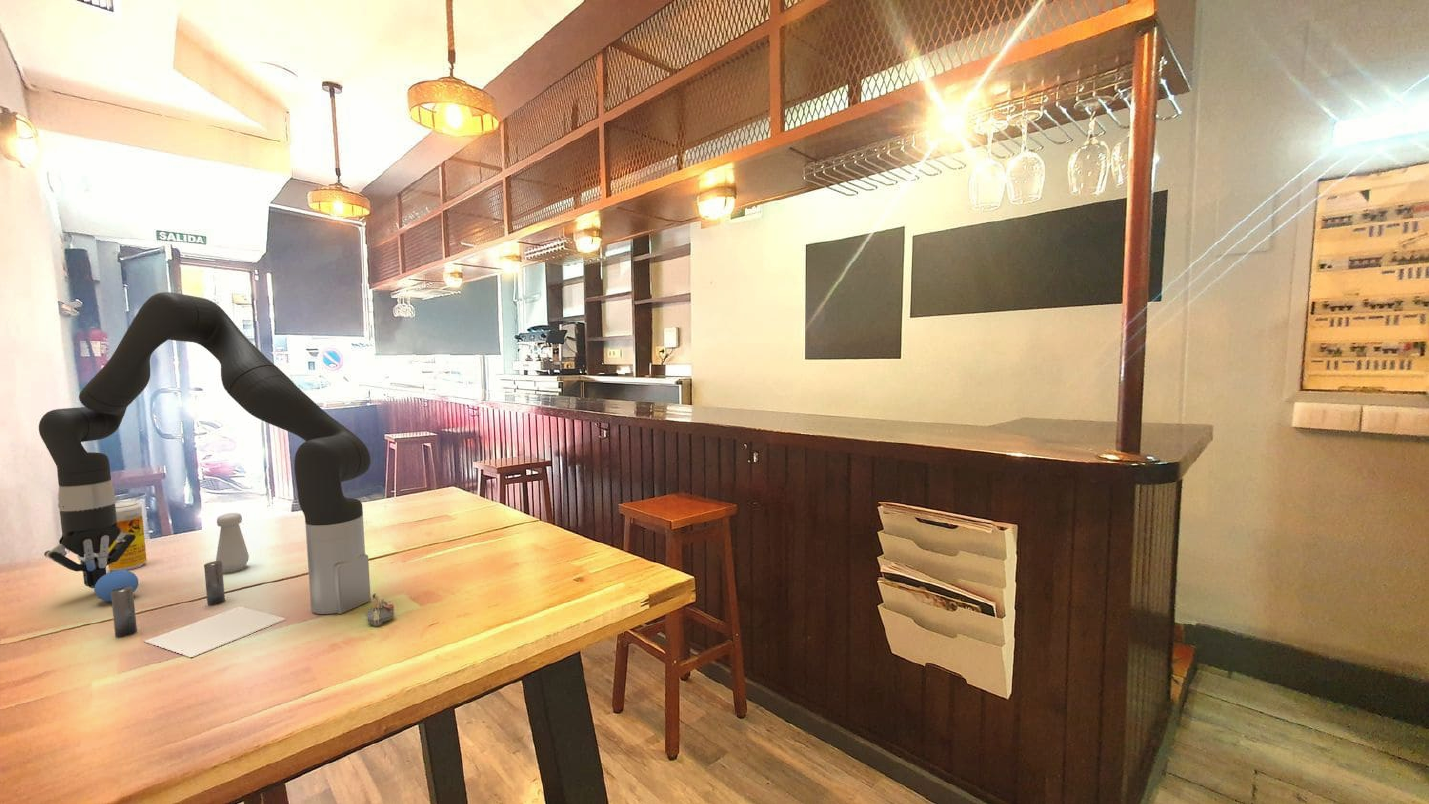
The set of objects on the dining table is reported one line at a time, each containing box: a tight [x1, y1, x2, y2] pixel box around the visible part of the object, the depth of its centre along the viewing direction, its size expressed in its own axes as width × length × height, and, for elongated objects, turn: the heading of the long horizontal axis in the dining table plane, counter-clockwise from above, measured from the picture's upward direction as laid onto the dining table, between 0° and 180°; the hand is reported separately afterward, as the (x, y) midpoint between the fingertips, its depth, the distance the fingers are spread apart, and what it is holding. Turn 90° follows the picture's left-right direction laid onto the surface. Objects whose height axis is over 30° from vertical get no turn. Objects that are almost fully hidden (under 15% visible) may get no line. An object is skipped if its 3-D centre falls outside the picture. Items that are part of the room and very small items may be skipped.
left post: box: [111, 587, 138, 638], centre depth 96 cm, size 3×3×8 cm
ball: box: [93, 570, 139, 603], centre depth 110 cm, size 6×6×6 cm
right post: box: [203, 560, 226, 606], centre depth 108 cm, size 3×3×8 cm
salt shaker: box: [215, 512, 250, 574], centre depth 125 cm, size 6×6×13 cm
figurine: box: [365, 593, 395, 627], centre depth 100 cm, size 5×4×6 cm
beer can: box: [107, 500, 147, 572], centre depth 127 cm, size 6×6×15 cm
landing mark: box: [143, 605, 287, 658], centre depth 97 cm, size 14×14×1 cm
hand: (96, 586), depth 113 cm, fingers closed
